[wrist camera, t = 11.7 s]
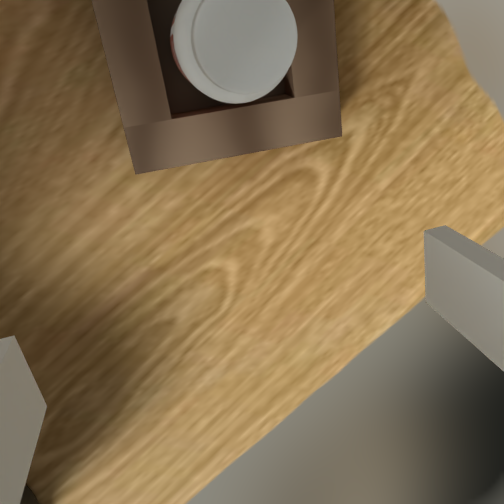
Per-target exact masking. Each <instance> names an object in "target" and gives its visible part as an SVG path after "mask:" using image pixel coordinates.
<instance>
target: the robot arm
mask: <svg viewBox="0 0 504 504" xmlns="http://www.w3.org/2000/svg"><path fill="white" fill-rule="evenodd" d="M424 254H425V292H426V303H427V304H428V305H429V306H430V307H432V308H433V309H434V310H435V311H436V312H437V313H438V314H440V315H441V316H442V317H443V318H444V319H445V320H446V321H447V322H449V323H450V324H451V325H452V326H453V327H454V328H455V329H457V330H458V331H459V332H460V333H461V334H462V335H463V336H465V338H467V339H468V340H469V341H470V342H471V343H472V344H473V345H475V346H476V347H477V348H478V349H479V350H480V351H481V352H482V353H484V354H485V355H486V356H487V357H488V358H489V359H490V360H491V361H493V362H494V363H495V364H496V365H497V366H498V367H499V368H501V369H502V370H503V371H504V258H502V257H500V256H498V255H496V254H495V253H493V252H491V251H490V250H488V249H486V248H484V247H482V246H481V245H479V244H477V243H475V242H474V241H472V240H470V239H468V238H467V237H465V236H463V235H461V234H460V233H458V232H456V231H454V230H453V229H451V228H449V227H447V226H446V225H445V226H441V227H437V228H433V229H429V230H425V231H424ZM46 409H47V405H46V403H45V401H44V398H43V396H42V394H41V392H40V390H39V388H38V386H37V383H36V381H35V379H34V377H33V375H32V373H31V370H30V368H29V366H28V364H27V362H26V360H25V357H24V355H23V353H22V351H21V349H20V347H19V344H18V342H17V340H16V338H15V336H10V337H6V338H2V339H0V504H38V502H37V499H36V498H35V496H34V494H33V493H32V491H31V490H30V489H29V488H28V487H27V486H26V485H25V484H26V480H27V476H28V473H29V469H30V466H31V462H32V459H33V455H34V451H35V448H36V444H37V441H38V437H39V434H40V430H41V426H42V423H43V419H44V416H45V412H46Z"/></svg>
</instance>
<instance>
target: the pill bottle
mask: <svg viewBox="0 0 504 504" xmlns="http://www.w3.org/2000/svg"><path fill="white" fill-rule="evenodd" d="M170 45H171V51H172V55H173V58H174V60H175V63H176V65H177V67H178V69H179V70H180V72H181V73H182V74H183V76H184V77H185V78H186V79H187V80H188V81H189V82H190V83H191V84H192V85H194V86H195V87H196V88H197V89H198V90H199V91H200V92H202V93H203V94H205V95H207V96H208V97H210V98H212V99H215V100H218V101H220V102H225V103H234V104H237V103H246V102H251V101H254V100H256V99H258V98H260V97H262V96H264V95H266V94H267V93H269V92H270V91H272V90H273V89H274V88H275V87H276V86H277V85H278V84H279V83H280V81H281V80H282V79H283V78H284V76H285V74H286V73H287V71H288V69H289V67H290V65H291V64H292V61H293V59H294V56H295V53H296V48H297V26H296V21H295V18H294V15H293V12H292V10H291V8H290V6H289V4H288V3H287V1H286V0H182V1H181V3H180V5H179V7H178V9H177V11H176V14H175V16H174V19H173V22H172V26H171V33H170Z"/></svg>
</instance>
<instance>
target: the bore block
mask: <svg viewBox="0 0 504 504" xmlns="http://www.w3.org/2000/svg"><path fill="white" fill-rule="evenodd" d="M181 1H182V0H92V4H93V8H94V12H95V16H96V20H97V24H98V28H99V32H100V36H101V40H102V44H103V48H104V52H105V56H106V60H107V64H108V68H109V72H110V75H111V79H112V83H113V87H114V91H115V95H116V99H117V103H118V107H119V111H120V115H121V119H122V123H123V127H124V131H125V135H126V139H127V143H128V146H129V150H130V154H131V158H132V162H133V166H134V170H135V174H141V173H146V172H152V171H157V170H162V169H168V168H173V167H179V166H184V165H189V164H195V163H200V162H206V161H211V160H216V159H222V158H227V157H233V156H238V155H243V154H249V153H254V152H259V151H265V150H270V149H276V148H281V147H286V146H292V145H297V144H303V143H308V142H313V141H319V140H324V139H330V138H335V137H340V136H342V126H341V110H340V94H339V78H338V62H337V45H336V29H335V13H334V0H286V1H287V3H288V4H289V6H290V8H291V10H292V12H293V15H294V18H295V21H296V26H297V48H296V53H295V56H294V59H293V61H292V64H291V65H290V67H289V69H288V71H287V73H286V74H285V76H284V78H283V79H282V80H281V81H280V83H279V84H278V85H277V86H276V87H275V88H274V89H273V90H272V91H270V92H269V93H267V94H266V95H264V96H262V97H260V98H258V99H256V100H254V101H251V102H246V103H237V104H234V103H225V102H220V101H218V100H215V99H212V98H210V97H208V96H207V95H205V94H203V93H202V92H200V91H199V90H198V89H197V88H196V87H195V86H194V85H192V84H191V83H190V82H189V81H188V80H187V79H186V78H185V77H184V76H183V74H182V73H181V72H180V70H179V69H178V67H177V65H176V63H175V60H174V58H173V55H172V51H171V45H170V33H171V26H172V22H173V19H174V16H175V14H176V11H177V9H178V7H179V5H180V3H181Z"/></svg>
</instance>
